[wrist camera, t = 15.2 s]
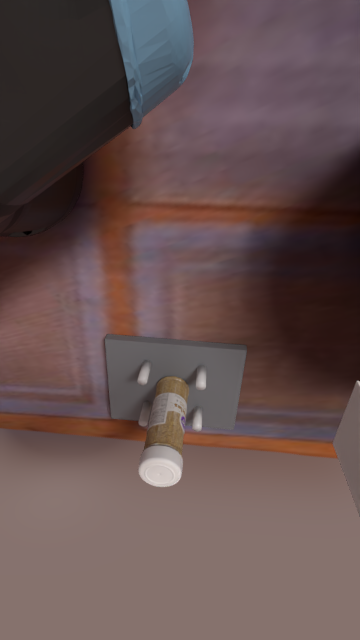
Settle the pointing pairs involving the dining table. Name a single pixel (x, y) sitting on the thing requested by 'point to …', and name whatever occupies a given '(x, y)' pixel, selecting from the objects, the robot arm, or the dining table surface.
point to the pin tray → (180, 361)
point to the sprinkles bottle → (165, 434)
